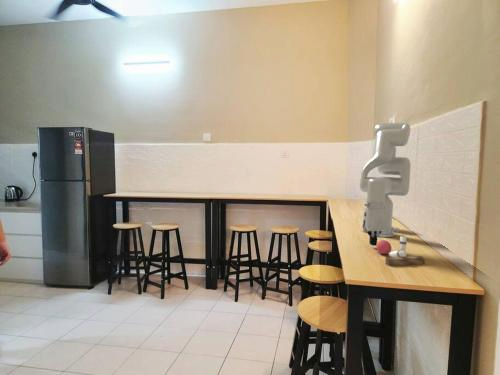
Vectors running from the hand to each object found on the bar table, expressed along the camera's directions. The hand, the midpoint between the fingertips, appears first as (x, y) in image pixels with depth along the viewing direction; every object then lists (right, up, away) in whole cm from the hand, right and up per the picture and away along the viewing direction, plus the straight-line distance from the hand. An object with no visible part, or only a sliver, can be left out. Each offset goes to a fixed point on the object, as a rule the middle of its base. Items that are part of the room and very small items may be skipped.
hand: (373, 244), depth 146 cm
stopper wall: (+4, -4, -21) cm, 22 cm away
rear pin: (+6, -3, -14) cm, 16 cm away
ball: (+1, +1, -9) cm, 9 cm away
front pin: (+3, -2, -13) cm, 13 cm away
